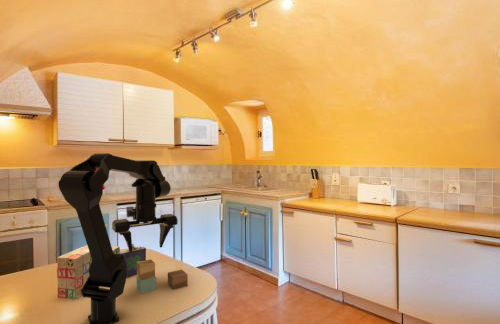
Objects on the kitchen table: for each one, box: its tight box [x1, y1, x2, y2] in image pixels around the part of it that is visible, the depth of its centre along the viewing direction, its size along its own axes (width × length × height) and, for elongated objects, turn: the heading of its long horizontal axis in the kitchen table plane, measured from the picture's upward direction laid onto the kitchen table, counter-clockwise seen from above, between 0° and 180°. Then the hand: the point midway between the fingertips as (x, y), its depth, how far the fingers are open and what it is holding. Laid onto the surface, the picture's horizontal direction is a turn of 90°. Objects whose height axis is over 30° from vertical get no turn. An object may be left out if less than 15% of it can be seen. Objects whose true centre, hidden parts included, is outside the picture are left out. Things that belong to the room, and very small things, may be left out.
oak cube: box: [136, 258, 156, 280], centre depth 93 cm, size 4×4×4 cm
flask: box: [119, 243, 147, 279], centre depth 104 cm, size 9×3×11 cm, turn 133°
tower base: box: [136, 275, 157, 294], centre depth 93 cm, size 5×5×4 cm
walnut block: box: [167, 268, 188, 290], centre depth 96 cm, size 5×5×4 cm
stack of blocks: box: [56, 244, 121, 300], centre depth 97 cm, size 21×6×12 cm, turn 169°
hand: (146, 249), depth 93 cm, fingers open, 9 cm apart
